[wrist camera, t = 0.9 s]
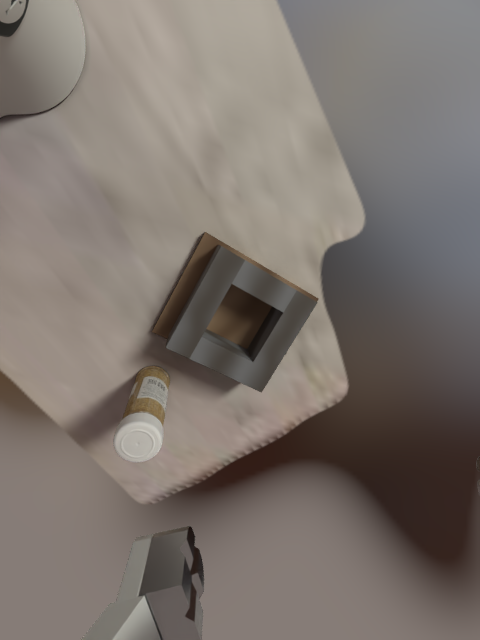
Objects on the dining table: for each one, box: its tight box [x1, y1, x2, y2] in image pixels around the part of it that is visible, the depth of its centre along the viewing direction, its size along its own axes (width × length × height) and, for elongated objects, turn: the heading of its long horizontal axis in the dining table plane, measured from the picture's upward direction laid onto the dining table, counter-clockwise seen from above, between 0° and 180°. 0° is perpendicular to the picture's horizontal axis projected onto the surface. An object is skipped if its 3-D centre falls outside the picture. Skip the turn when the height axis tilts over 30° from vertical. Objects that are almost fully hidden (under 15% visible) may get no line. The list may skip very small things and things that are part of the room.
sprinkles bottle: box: [113, 366, 170, 462], centre depth 36 cm, size 5×5×14 cm
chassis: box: [152, 232, 318, 392], centre depth 39 cm, size 17×14×6 cm
